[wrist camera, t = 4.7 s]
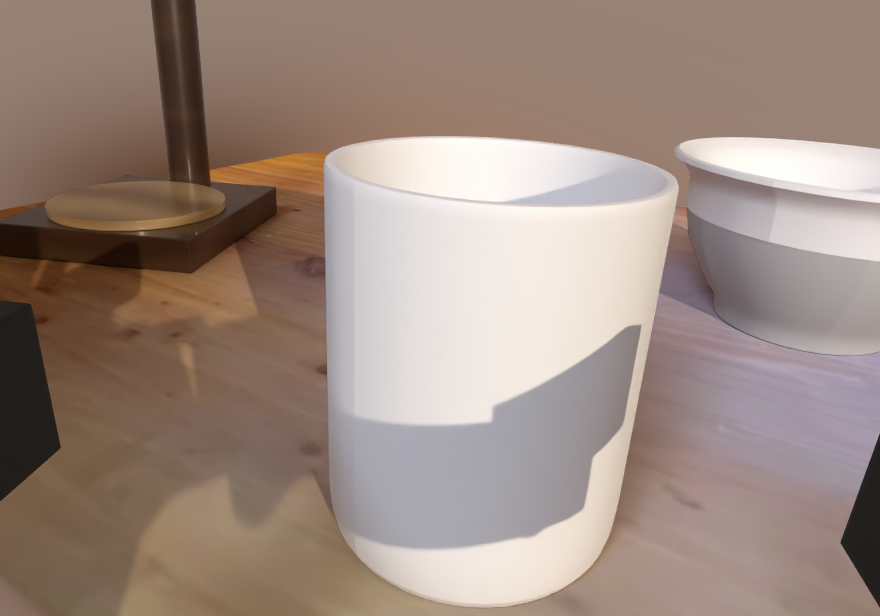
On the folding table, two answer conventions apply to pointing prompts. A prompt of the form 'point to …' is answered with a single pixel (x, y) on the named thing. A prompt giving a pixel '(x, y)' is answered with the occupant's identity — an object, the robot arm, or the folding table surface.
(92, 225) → the mug stand
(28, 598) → the folding table surface
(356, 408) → the mug
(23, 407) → the robot arm
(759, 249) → the bowl
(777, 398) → the folding table surface
